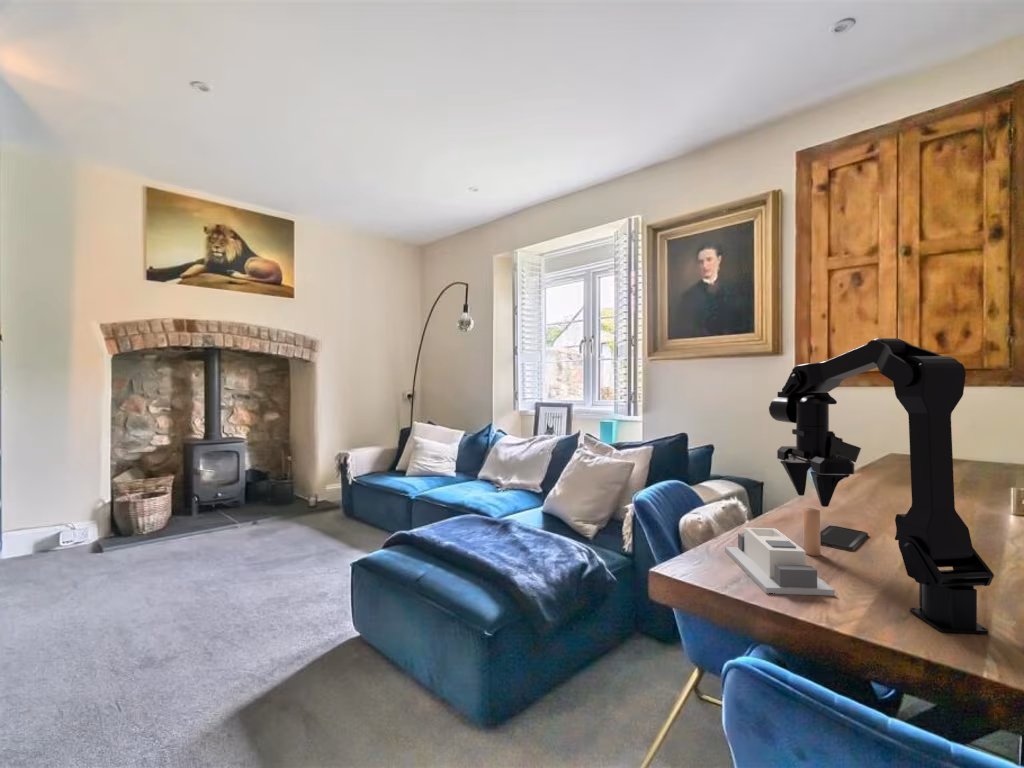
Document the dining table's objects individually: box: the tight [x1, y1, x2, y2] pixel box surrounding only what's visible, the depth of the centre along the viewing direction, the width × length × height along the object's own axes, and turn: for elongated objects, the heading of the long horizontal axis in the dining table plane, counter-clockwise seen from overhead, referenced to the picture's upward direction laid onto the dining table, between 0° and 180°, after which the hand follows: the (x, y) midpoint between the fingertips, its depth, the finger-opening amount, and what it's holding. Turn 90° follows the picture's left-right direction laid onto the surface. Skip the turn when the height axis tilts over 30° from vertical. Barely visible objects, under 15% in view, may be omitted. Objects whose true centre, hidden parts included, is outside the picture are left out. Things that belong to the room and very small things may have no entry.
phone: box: [820, 525, 869, 552], centre depth 109 cm, size 8×1×15 cm
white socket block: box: [743, 527, 807, 578], centre depth 91 cm, size 13×6×5 cm, turn 172°
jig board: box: [724, 532, 835, 597], centre depth 91 cm, size 20×11×4 cm, turn 175°
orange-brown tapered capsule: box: [802, 507, 822, 557], centre depth 100 cm, size 3×3×9 cm
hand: (812, 500), depth 100 cm, fingers open, 9 cm apart
